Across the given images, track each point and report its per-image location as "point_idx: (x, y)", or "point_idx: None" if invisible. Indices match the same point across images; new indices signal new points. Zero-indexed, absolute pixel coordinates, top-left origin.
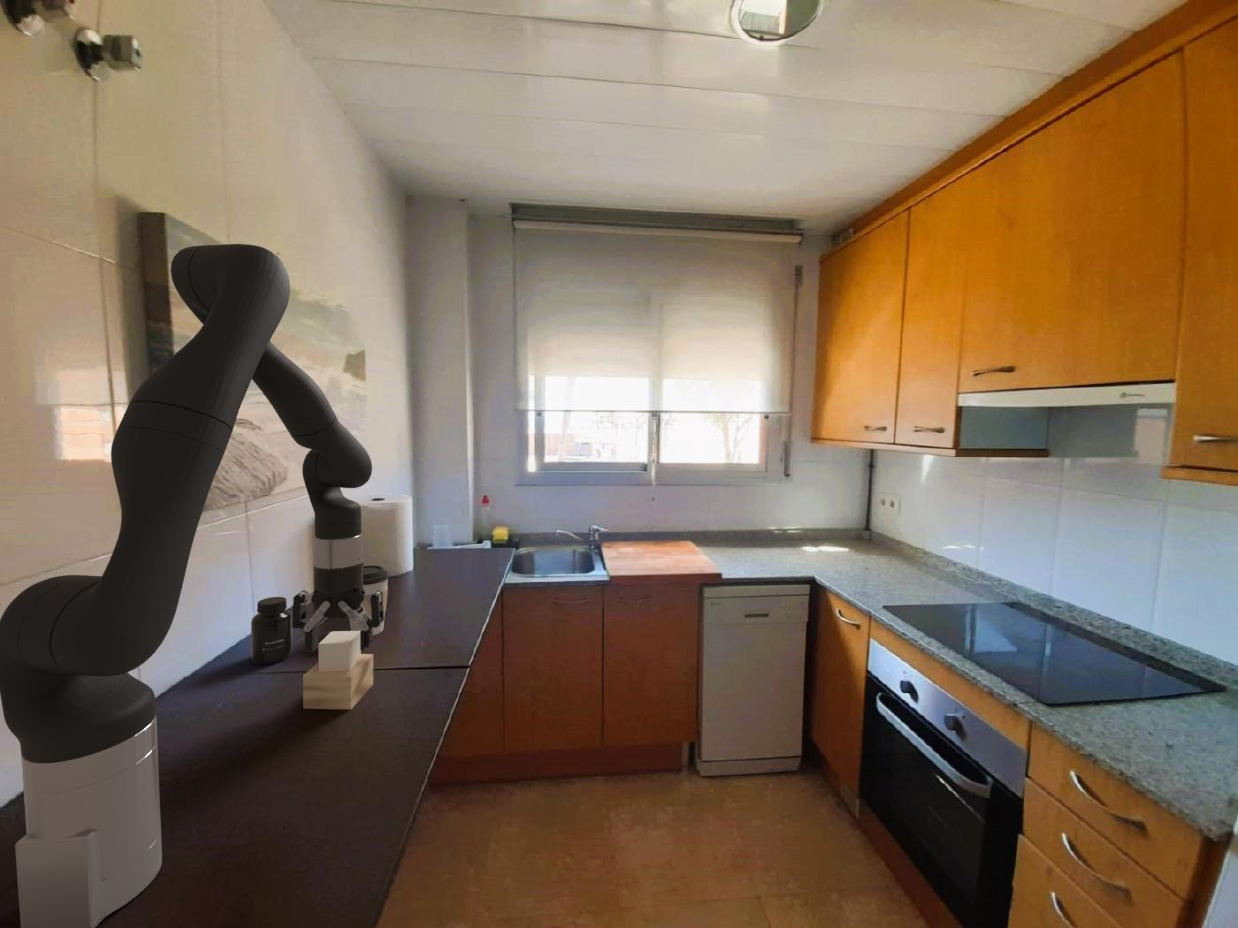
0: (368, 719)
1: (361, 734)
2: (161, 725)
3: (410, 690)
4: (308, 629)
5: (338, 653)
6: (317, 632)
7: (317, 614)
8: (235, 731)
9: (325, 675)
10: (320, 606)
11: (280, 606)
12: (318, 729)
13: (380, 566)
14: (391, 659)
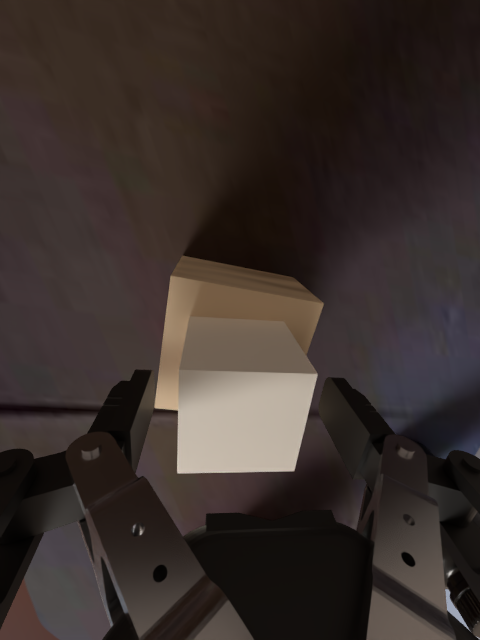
0: (119, 198)
1: (109, 122)
2: None
3: (62, 319)
4: (395, 444)
5: (228, 346)
6: (344, 452)
7: (414, 535)
8: (409, 205)
9: (257, 296)
10: (452, 637)
11: (476, 598)
12: (231, 174)
13: None
14: (163, 446)
